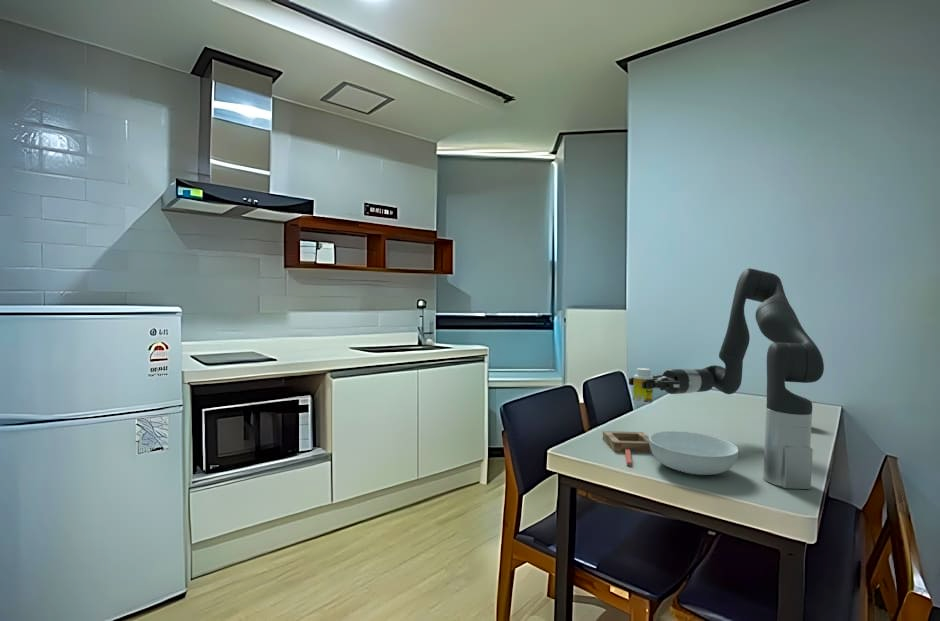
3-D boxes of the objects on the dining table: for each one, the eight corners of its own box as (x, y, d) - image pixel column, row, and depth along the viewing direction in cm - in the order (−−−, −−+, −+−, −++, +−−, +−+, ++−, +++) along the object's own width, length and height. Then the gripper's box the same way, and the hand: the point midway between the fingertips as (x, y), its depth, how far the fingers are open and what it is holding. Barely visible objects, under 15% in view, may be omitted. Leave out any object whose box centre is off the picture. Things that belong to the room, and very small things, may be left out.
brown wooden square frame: (656, 452, 143) (657, 443, 143) (613, 451, 143) (614, 442, 142) (642, 440, 155) (642, 432, 155) (602, 439, 155) (603, 431, 154)
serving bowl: (646, 475, 124) (647, 447, 124) (649, 452, 143) (650, 427, 143) (742, 490, 116) (744, 460, 116) (732, 463, 136) (733, 437, 135)
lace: (631, 466, 130) (631, 462, 130) (626, 465, 130) (626, 461, 130) (629, 452, 142) (629, 449, 142) (625, 452, 142) (625, 448, 142)
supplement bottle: (646, 405, 149) (647, 370, 149) (629, 402, 154) (630, 368, 153) (655, 403, 153) (656, 369, 153) (638, 400, 157) (639, 367, 157)
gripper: (665, 366, 165) (621, 367, 159) (699, 372, 151) (652, 374, 145) (664, 389, 165) (620, 391, 159) (698, 397, 151) (651, 400, 146)
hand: (636, 383), depth 152 cm, fingers closed on supplement bottle, 5 cm apart
